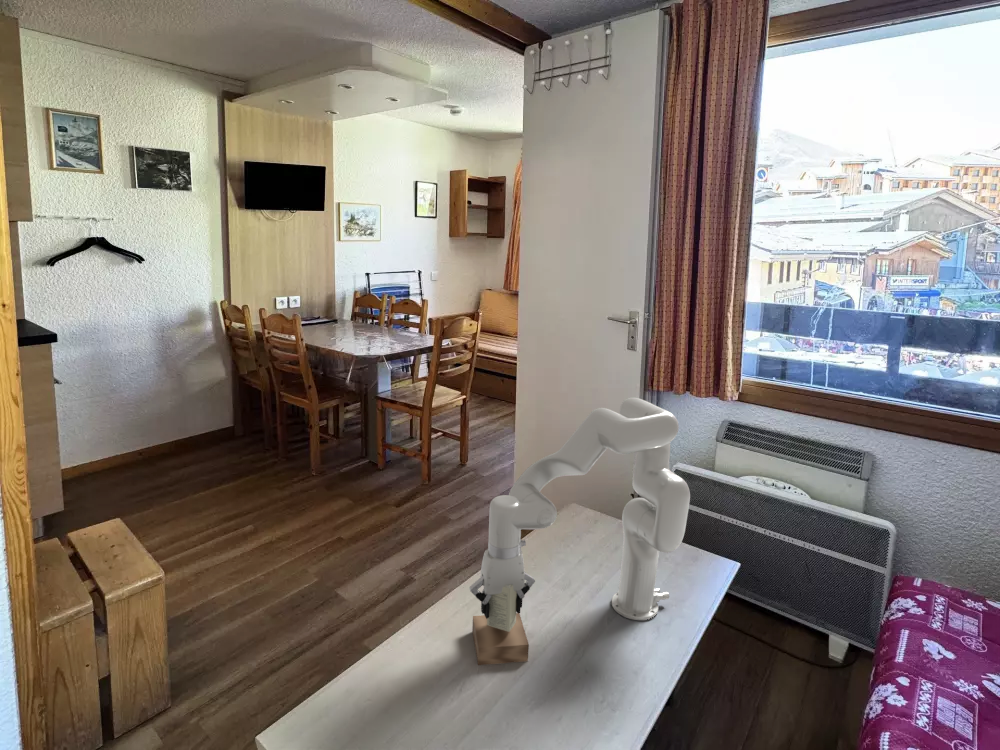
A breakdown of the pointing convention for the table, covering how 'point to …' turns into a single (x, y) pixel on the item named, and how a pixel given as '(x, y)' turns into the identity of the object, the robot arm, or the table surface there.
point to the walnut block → (499, 642)
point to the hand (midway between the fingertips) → (501, 612)
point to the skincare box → (503, 609)
